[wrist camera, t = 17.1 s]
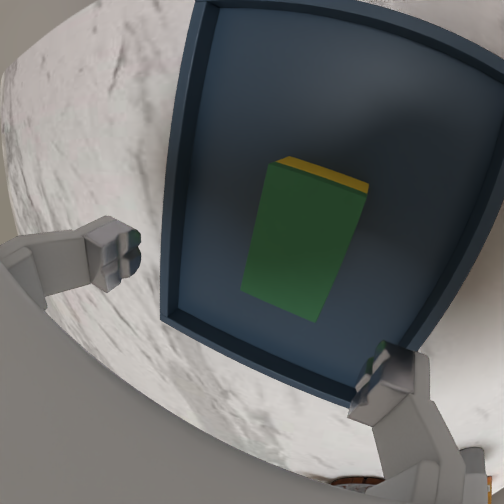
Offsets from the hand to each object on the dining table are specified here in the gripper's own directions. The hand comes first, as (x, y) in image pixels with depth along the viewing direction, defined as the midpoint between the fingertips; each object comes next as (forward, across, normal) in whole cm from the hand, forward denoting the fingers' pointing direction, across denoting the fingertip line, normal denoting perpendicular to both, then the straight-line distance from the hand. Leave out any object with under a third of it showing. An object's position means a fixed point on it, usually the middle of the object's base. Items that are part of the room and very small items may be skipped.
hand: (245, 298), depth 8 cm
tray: (+10, 0, +1) cm, 10 cm away
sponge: (+8, 0, +1) cm, 9 cm away
